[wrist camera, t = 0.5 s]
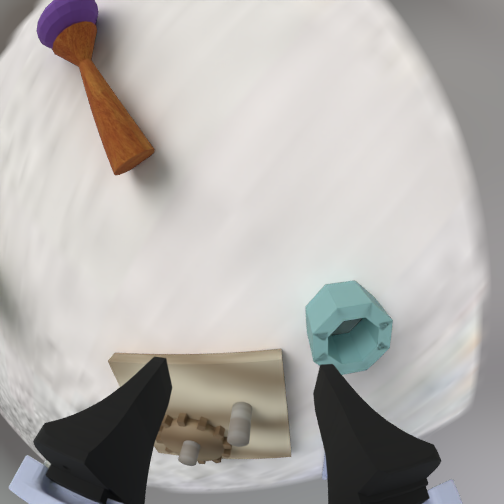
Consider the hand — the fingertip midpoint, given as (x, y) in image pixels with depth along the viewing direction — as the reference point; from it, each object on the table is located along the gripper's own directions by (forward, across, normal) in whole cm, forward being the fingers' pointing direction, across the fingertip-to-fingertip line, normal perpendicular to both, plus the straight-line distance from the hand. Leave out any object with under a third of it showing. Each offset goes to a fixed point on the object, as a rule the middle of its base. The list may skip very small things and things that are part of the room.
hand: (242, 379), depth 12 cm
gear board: (+9, +4, +14) cm, 17 cm away
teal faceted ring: (+9, -7, +2) cm, 12 cm away
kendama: (+11, +13, -18) cm, 25 cm away
